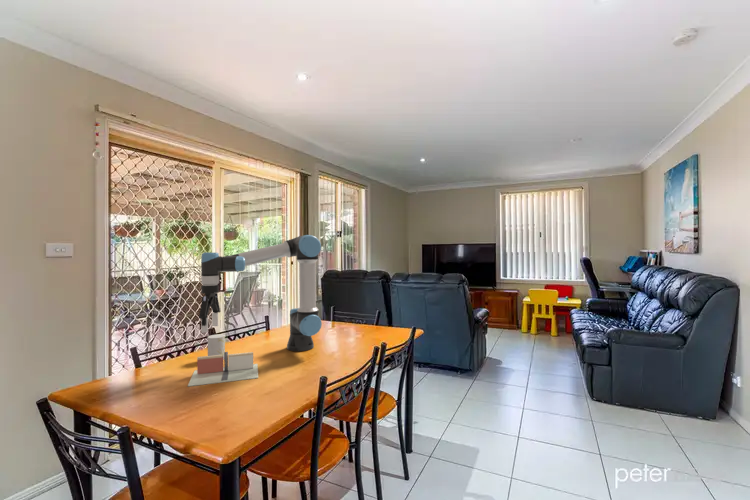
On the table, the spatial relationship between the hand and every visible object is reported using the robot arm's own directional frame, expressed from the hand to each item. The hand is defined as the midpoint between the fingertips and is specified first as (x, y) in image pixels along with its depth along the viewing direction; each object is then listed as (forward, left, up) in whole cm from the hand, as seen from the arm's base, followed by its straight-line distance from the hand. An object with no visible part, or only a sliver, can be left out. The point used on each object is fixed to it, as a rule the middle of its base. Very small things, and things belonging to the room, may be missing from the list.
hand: (210, 329), depth 167 cm
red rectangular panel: (-1, +6, -18) cm, 20 cm away
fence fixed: (-13, +6, -19) cm, 24 cm away
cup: (-1, -16, -19) cm, 25 cm away
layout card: (-7, +10, -19) cm, 23 cm away
